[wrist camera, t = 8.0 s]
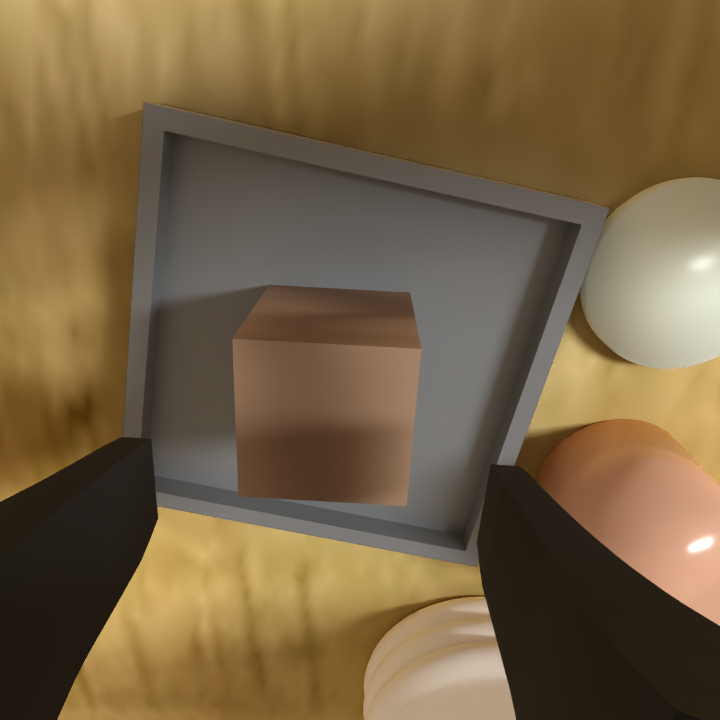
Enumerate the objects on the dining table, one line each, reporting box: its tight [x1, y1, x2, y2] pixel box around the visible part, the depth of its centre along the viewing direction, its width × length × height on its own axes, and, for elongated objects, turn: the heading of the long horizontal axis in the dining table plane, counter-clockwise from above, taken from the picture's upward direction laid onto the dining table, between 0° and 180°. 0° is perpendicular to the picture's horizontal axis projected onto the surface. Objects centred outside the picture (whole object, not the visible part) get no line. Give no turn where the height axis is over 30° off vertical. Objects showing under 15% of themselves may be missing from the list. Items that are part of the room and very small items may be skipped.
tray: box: [123, 102, 610, 567], centre depth 19 cm, size 13×13×2 cm
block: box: [232, 285, 421, 506], centre depth 17 cm, size 4×4×5 cm
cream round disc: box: [363, 597, 516, 720], centre depth 24 cm, size 10×10×4 cm
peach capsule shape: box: [536, 419, 720, 626], centre depth 19 cm, size 6×6×5 cm
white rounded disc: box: [579, 177, 720, 369], centre depth 18 cm, size 6×6×1 cm
